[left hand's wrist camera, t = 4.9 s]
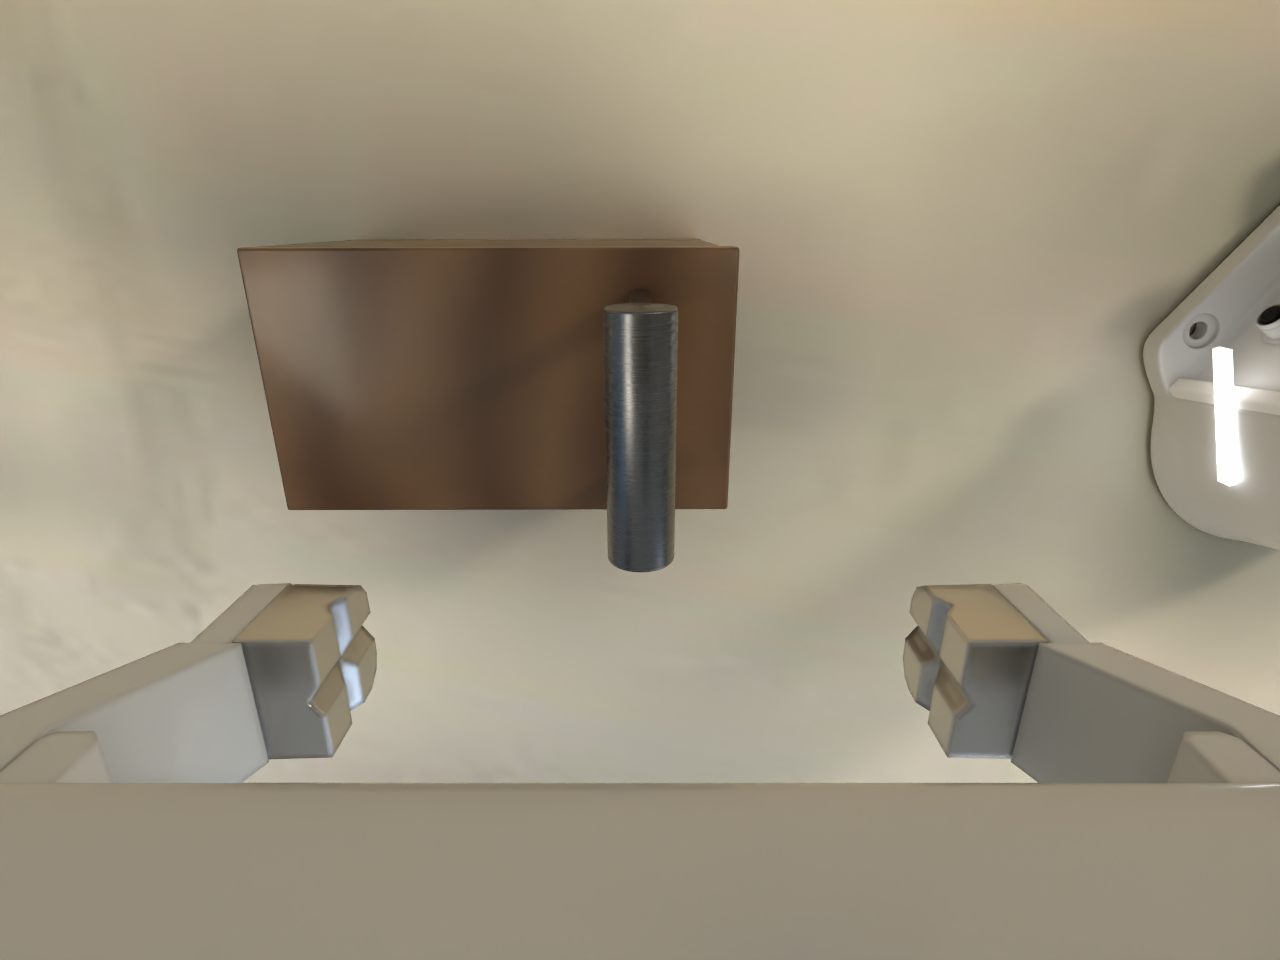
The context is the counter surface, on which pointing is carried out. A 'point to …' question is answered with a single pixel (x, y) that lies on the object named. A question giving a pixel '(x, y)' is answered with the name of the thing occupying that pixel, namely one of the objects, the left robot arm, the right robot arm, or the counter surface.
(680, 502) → the lid
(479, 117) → the counter surface
